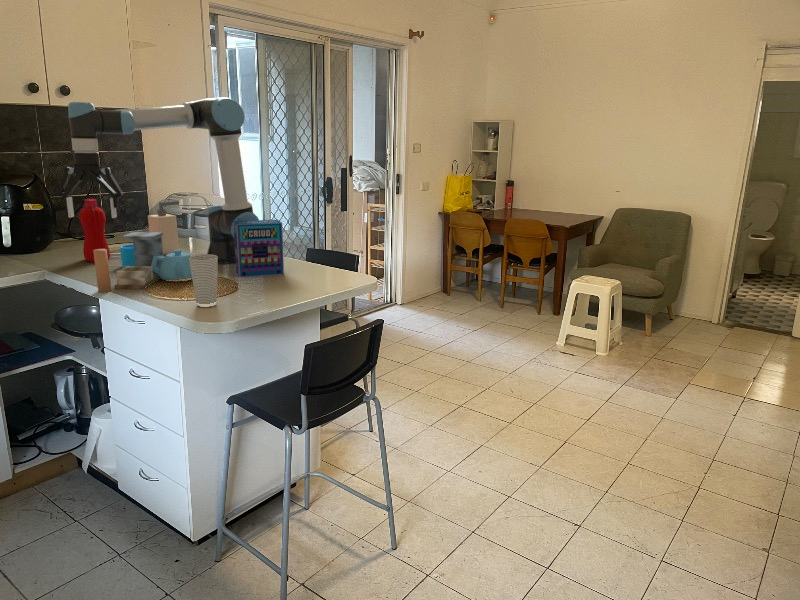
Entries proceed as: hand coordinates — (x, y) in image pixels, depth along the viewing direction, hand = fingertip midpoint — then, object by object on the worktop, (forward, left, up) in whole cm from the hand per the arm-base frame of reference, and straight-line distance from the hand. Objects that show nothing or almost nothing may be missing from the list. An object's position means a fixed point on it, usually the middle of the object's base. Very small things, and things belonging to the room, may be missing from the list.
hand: (93, 217), depth 199 cm
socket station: (-11, -7, -24) cm, 27 cm away
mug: (0, -33, -24) cm, 41 cm away
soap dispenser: (-2, -63, -24) cm, 67 cm away
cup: (-42, +21, -24) cm, 53 cm away
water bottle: (+20, -42, -24) cm, 53 cm away
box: (-50, -23, -24) cm, 60 cm away
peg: (-4, +6, -24) cm, 25 cm away
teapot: (-23, -13, -24) cm, 36 cm away
